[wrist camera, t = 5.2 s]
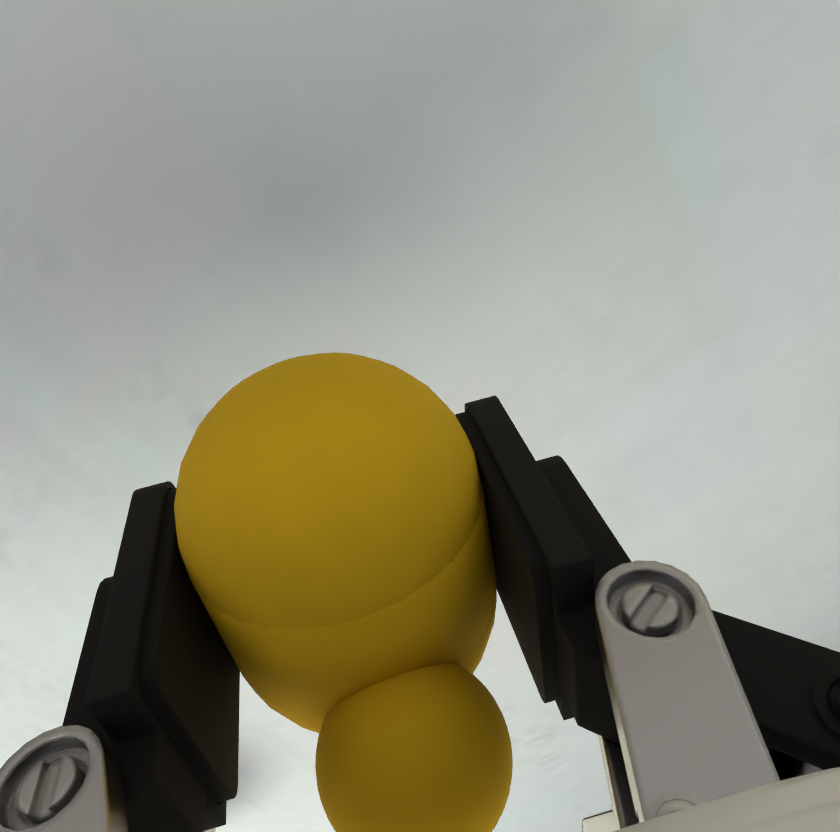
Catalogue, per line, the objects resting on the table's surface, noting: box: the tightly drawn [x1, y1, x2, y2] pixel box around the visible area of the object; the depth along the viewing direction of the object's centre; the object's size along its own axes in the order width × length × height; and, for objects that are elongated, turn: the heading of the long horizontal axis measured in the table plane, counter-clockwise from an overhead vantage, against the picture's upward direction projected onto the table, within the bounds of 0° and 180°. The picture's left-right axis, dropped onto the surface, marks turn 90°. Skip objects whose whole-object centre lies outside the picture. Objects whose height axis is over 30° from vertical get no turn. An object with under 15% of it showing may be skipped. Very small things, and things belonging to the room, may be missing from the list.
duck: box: [174, 353, 512, 832], centre depth 10 cm, size 7×5×6 cm
